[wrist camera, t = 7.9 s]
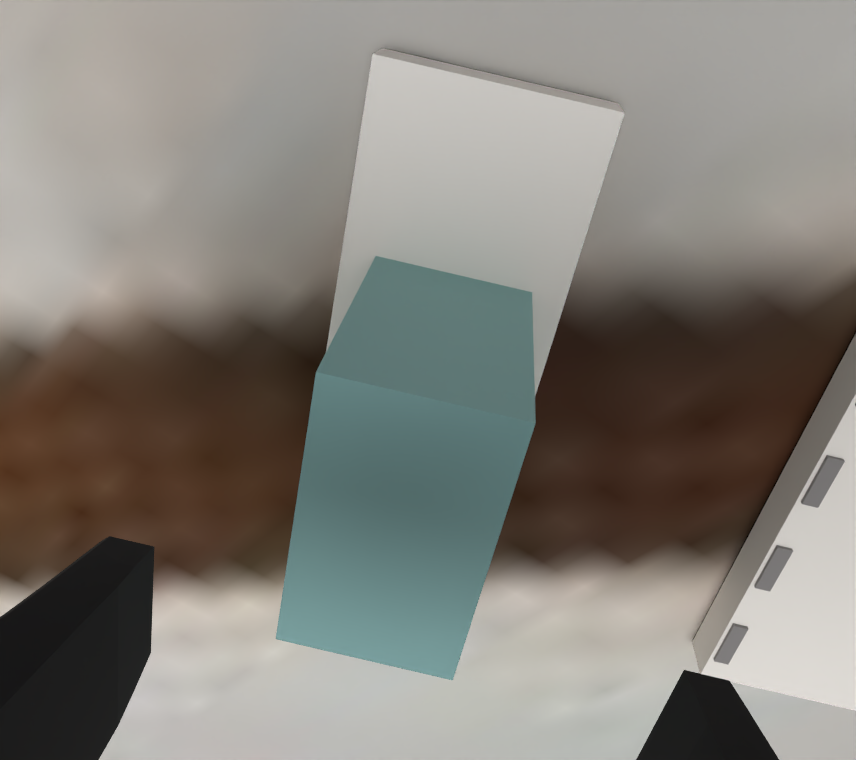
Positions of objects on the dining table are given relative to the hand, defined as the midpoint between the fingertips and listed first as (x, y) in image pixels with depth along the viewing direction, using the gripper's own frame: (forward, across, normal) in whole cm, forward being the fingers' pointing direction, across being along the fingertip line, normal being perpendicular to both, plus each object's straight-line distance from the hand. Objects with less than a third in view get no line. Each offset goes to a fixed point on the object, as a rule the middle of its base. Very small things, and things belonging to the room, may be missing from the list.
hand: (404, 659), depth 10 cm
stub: (+10, +1, +1) cm, 10 cm away
